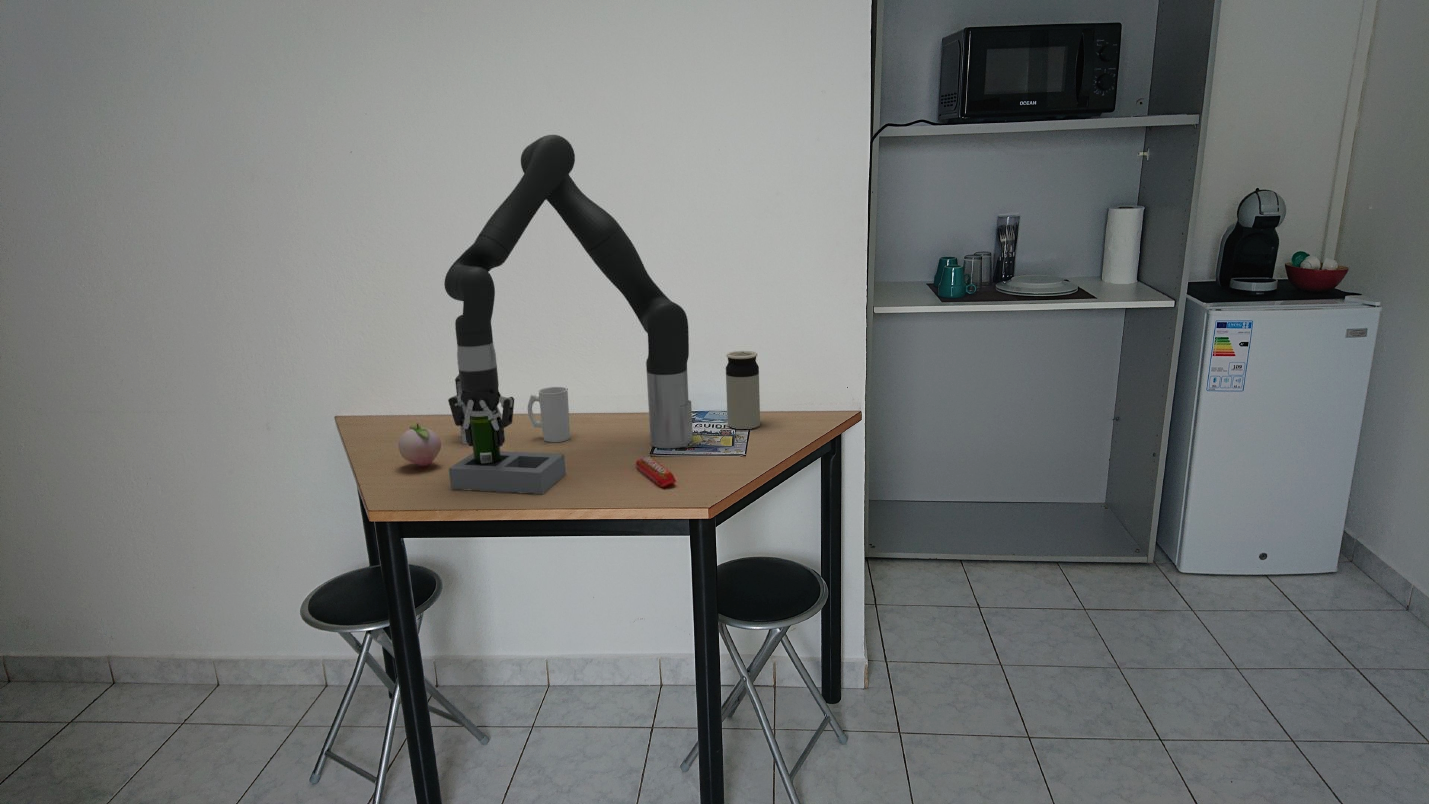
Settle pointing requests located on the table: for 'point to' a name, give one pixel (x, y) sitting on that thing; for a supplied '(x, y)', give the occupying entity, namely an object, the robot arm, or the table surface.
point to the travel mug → (742, 390)
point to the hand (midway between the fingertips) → (485, 445)
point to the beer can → (483, 439)
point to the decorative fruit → (419, 445)
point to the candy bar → (655, 471)
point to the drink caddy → (510, 473)
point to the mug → (552, 413)
